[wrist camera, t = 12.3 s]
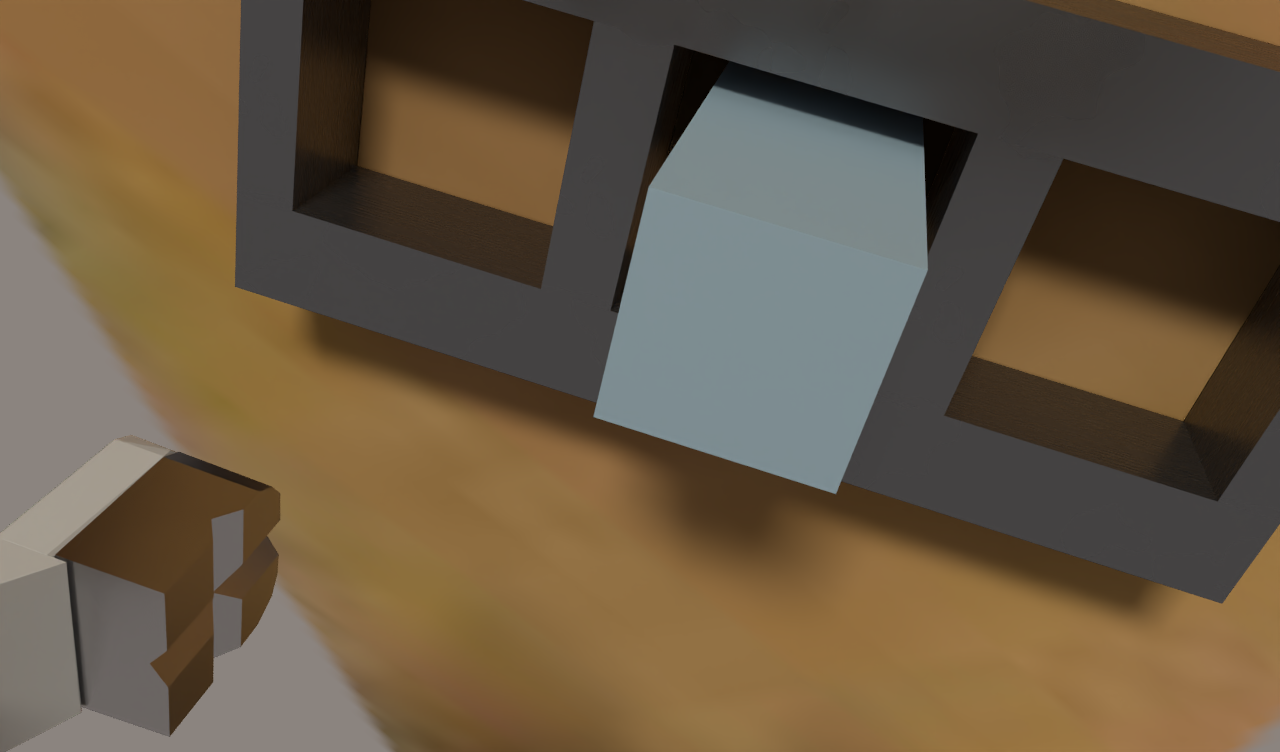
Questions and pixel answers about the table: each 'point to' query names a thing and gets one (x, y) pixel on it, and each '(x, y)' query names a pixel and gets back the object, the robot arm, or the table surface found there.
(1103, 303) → the table surface
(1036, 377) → the hole rail
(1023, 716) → the table surface
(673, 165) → the square block
